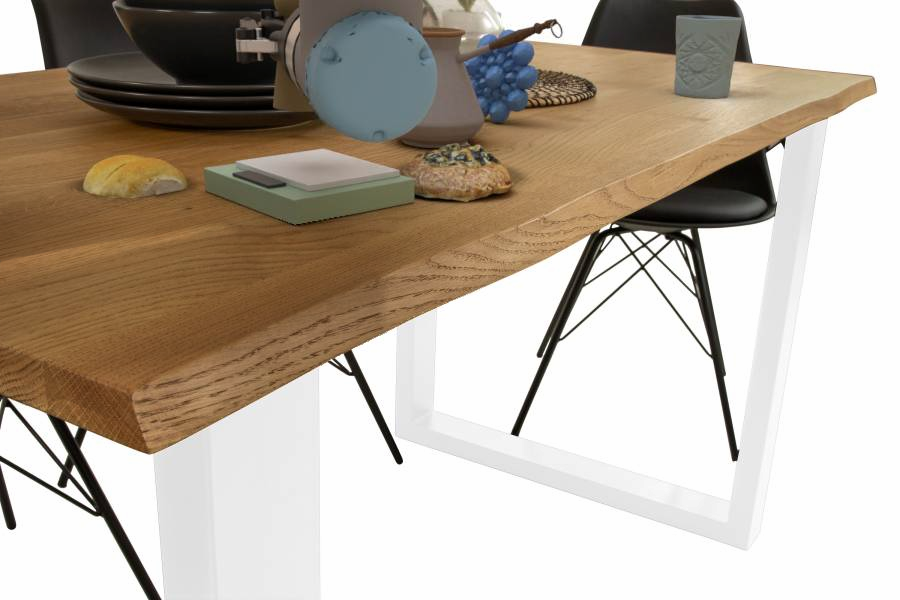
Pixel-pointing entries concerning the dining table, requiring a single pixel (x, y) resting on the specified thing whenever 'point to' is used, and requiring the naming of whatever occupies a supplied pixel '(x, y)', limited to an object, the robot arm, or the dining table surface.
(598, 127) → the dining table surface
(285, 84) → the cork
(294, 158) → the scale
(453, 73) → the coffee pot
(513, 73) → the grapes
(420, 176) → the bread roll
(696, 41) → the grey embossed vase
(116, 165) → the bread roll
